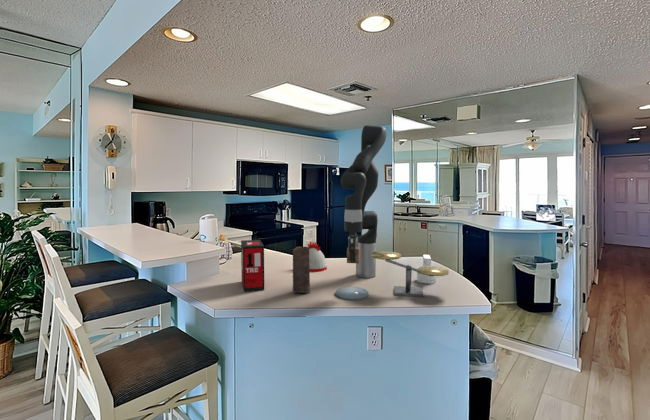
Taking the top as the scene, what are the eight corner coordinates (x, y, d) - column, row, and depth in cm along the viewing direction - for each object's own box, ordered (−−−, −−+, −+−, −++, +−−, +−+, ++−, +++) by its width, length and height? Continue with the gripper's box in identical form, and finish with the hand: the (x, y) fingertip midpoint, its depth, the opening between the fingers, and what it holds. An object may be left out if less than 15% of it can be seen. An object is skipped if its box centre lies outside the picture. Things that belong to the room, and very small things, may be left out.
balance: (369, 294, 149) (370, 256, 148) (370, 285, 162) (371, 250, 161) (450, 299, 144) (451, 259, 142) (445, 289, 156) (446, 253, 155)
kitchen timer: (312, 264, 203) (312, 239, 202) (331, 268, 195) (331, 241, 194) (296, 269, 192) (296, 242, 191) (316, 273, 184) (316, 245, 183)
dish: (328, 294, 150) (328, 291, 150) (350, 287, 160) (350, 284, 160) (353, 302, 140) (353, 299, 140) (375, 294, 150) (375, 291, 150)
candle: (303, 296, 147) (302, 249, 146) (289, 293, 151) (288, 247, 149) (313, 291, 154) (313, 246, 152) (299, 288, 158) (299, 244, 156)
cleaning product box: (241, 281, 169) (241, 240, 167) (260, 280, 171) (259, 239, 169) (243, 292, 153) (243, 246, 151) (264, 290, 155) (263, 245, 154)
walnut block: (346, 263, 146) (346, 248, 146) (348, 260, 151) (348, 246, 151) (358, 263, 146) (358, 249, 145) (359, 260, 151) (359, 247, 150)
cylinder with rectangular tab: (436, 284, 166) (437, 259, 165) (417, 282, 167) (417, 258, 166) (434, 278, 174) (435, 255, 173) (416, 277, 176) (416, 254, 175)
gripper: (346, 218, 155) (346, 256, 156) (342, 221, 141) (342, 263, 142) (363, 218, 154) (363, 257, 155) (361, 222, 140) (361, 264, 141)
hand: (353, 259), depth 148 cm, fingers closed on walnut block, 5 cm apart
